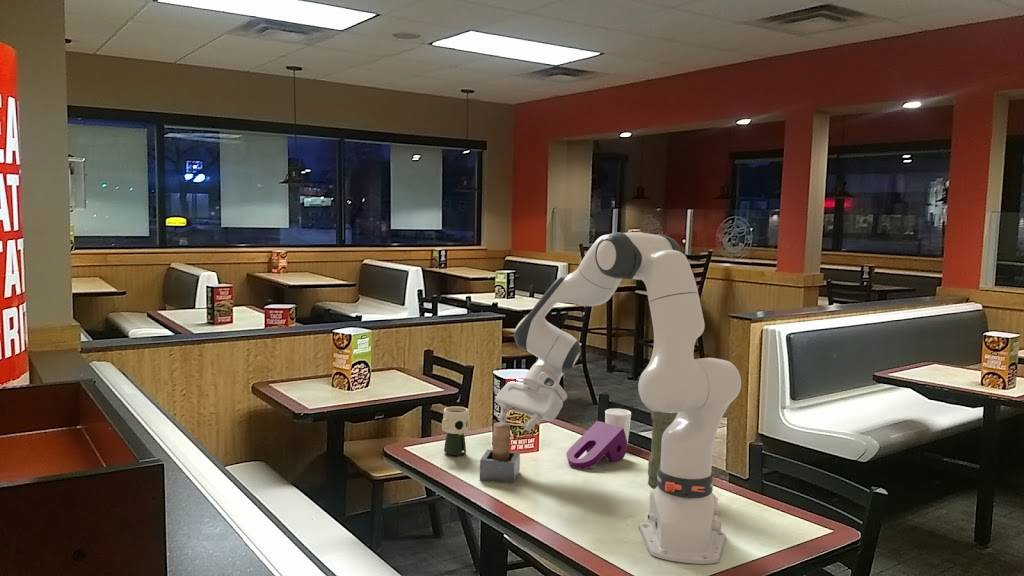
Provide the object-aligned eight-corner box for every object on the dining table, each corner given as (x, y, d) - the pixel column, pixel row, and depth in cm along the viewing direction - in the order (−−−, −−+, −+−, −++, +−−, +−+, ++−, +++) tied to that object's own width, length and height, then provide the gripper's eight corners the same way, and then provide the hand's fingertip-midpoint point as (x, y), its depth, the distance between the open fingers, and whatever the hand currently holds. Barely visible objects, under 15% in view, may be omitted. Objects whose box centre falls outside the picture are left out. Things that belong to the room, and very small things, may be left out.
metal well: (513, 483, 198) (514, 462, 198) (479, 480, 200) (480, 459, 199) (519, 472, 207) (520, 452, 207) (486, 469, 209) (487, 449, 208)
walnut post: (506, 479, 201) (508, 427, 200) (490, 478, 202) (492, 426, 200) (509, 474, 205) (511, 423, 204) (493, 472, 206) (495, 421, 205)
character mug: (450, 461, 214) (452, 415, 213) (432, 455, 219) (433, 410, 218) (476, 452, 223) (478, 408, 222) (458, 447, 227) (459, 403, 226)
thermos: (678, 495, 194) (686, 358, 191) (636, 484, 201) (643, 352, 198) (693, 486, 201) (701, 354, 198) (652, 475, 208) (659, 348, 205)
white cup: (615, 438, 242) (617, 407, 241) (634, 444, 236) (636, 412, 235) (598, 442, 237) (599, 410, 236) (617, 449, 231) (619, 416, 230)
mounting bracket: (593, 490, 212) (629, 451, 223) (585, 466, 209) (623, 427, 220) (567, 481, 219) (604, 443, 230) (559, 457, 216) (597, 420, 226)
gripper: (507, 370, 217) (480, 410, 211) (562, 383, 202) (535, 426, 196) (517, 384, 220) (491, 423, 214) (572, 397, 206) (546, 440, 200)
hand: (513, 425), depth 205 cm, fingers open, 8 cm apart
